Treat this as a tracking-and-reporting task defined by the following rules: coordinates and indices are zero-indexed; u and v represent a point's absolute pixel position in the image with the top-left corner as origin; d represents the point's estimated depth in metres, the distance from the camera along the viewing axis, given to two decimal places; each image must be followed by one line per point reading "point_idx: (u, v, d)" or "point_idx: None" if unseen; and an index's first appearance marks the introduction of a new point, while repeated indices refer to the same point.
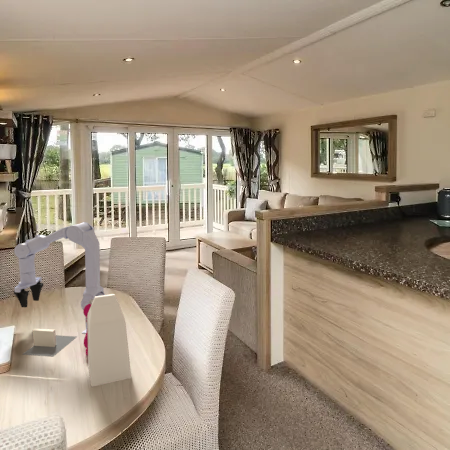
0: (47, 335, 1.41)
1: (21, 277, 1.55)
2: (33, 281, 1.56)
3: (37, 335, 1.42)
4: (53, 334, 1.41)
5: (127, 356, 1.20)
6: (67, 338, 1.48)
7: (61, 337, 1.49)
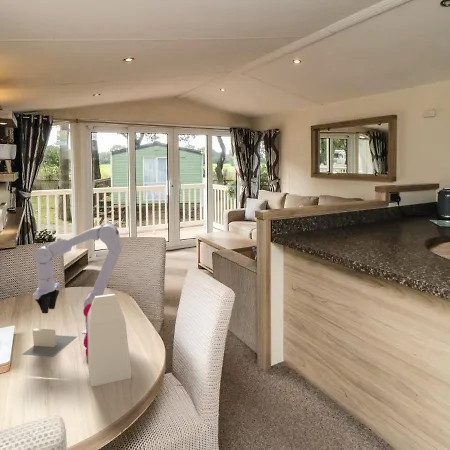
0: (47, 335, 1.41)
1: (39, 283, 1.47)
2: (52, 287, 1.49)
3: (37, 335, 1.42)
4: (53, 334, 1.41)
5: (127, 356, 1.20)
6: (67, 338, 1.48)
7: (61, 337, 1.49)
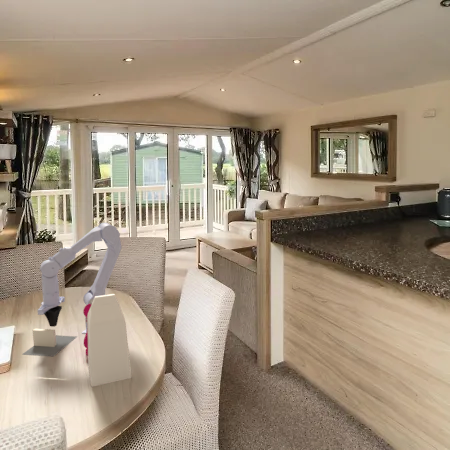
0: (47, 335, 1.41)
1: (44, 298, 1.44)
2: (57, 302, 1.45)
3: (37, 335, 1.42)
4: (53, 334, 1.41)
5: (127, 356, 1.20)
6: (67, 338, 1.48)
7: (61, 337, 1.49)
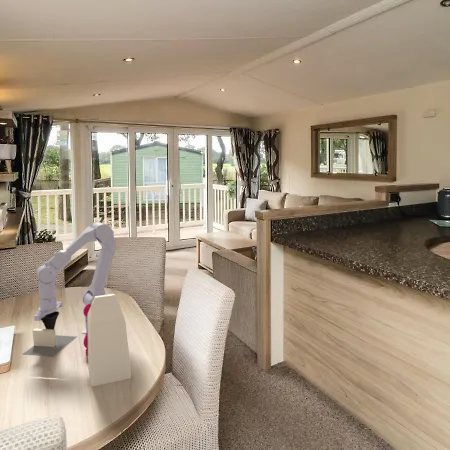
0: (47, 335, 1.41)
1: (41, 303, 1.42)
2: (54, 307, 1.44)
3: (37, 335, 1.42)
4: (53, 334, 1.41)
5: (127, 356, 1.20)
6: (67, 338, 1.48)
7: (61, 337, 1.49)
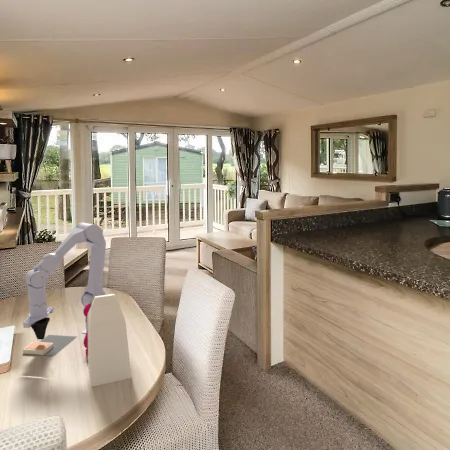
0: None
1: (31, 309, 1.36)
2: (44, 314, 1.38)
3: None
4: (45, 352, 1.37)
5: (127, 356, 1.20)
6: (67, 338, 1.48)
7: (61, 337, 1.49)
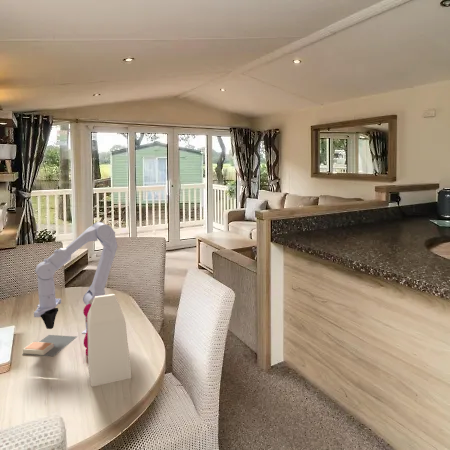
0: None
1: (40, 300, 1.42)
2: (53, 304, 1.44)
3: None
4: (45, 352, 1.37)
5: (127, 356, 1.20)
6: (67, 338, 1.48)
7: (61, 337, 1.49)
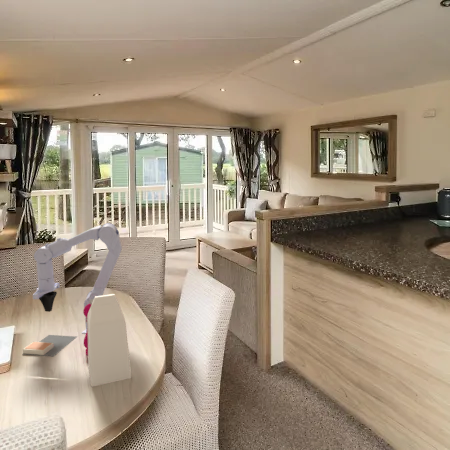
0: None
1: (39, 283, 1.47)
2: (52, 287, 1.49)
3: None
4: (45, 352, 1.37)
5: (127, 356, 1.20)
6: (67, 338, 1.48)
7: (61, 337, 1.49)
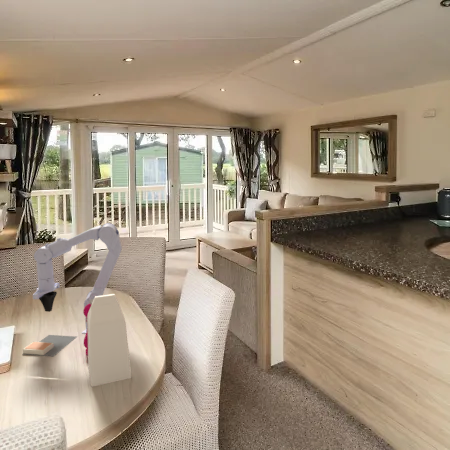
0: None
1: (39, 283, 1.47)
2: (52, 287, 1.49)
3: None
4: (45, 352, 1.37)
5: (127, 356, 1.20)
6: (67, 338, 1.48)
7: (61, 337, 1.49)
